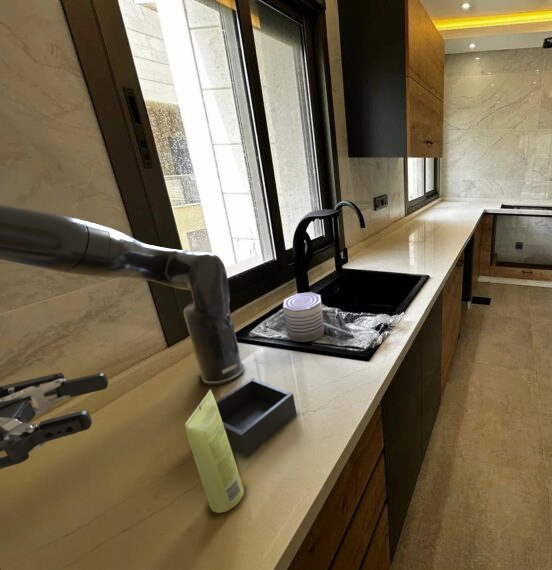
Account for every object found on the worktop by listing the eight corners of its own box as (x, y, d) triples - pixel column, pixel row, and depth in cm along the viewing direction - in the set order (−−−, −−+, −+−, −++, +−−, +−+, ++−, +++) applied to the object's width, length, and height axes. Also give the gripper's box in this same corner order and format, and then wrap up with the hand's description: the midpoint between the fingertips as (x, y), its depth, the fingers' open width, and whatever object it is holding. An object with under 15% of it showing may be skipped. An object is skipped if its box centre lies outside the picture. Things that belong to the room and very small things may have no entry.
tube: (204, 498, 55) (172, 405, 48) (236, 477, 58) (210, 388, 51) (217, 521, 51) (184, 424, 44) (250, 497, 55) (224, 404, 48)
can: (332, 329, 109) (328, 296, 105) (307, 345, 99) (302, 309, 95) (306, 322, 113) (301, 290, 109) (280, 337, 104) (274, 302, 99)
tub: (204, 436, 67) (197, 413, 65) (256, 398, 78) (252, 377, 75) (247, 458, 62) (240, 435, 60) (296, 414, 73) (293, 393, 70)
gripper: (-216, 478, 26) (71, 406, 34) (-90, 383, 37) (103, 346, 46) (-162, 542, 28) (93, 461, 37) (-60, 435, 40) (118, 391, 48)
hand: (98, 397), depth 41 cm, fingers open, 8 cm apart
